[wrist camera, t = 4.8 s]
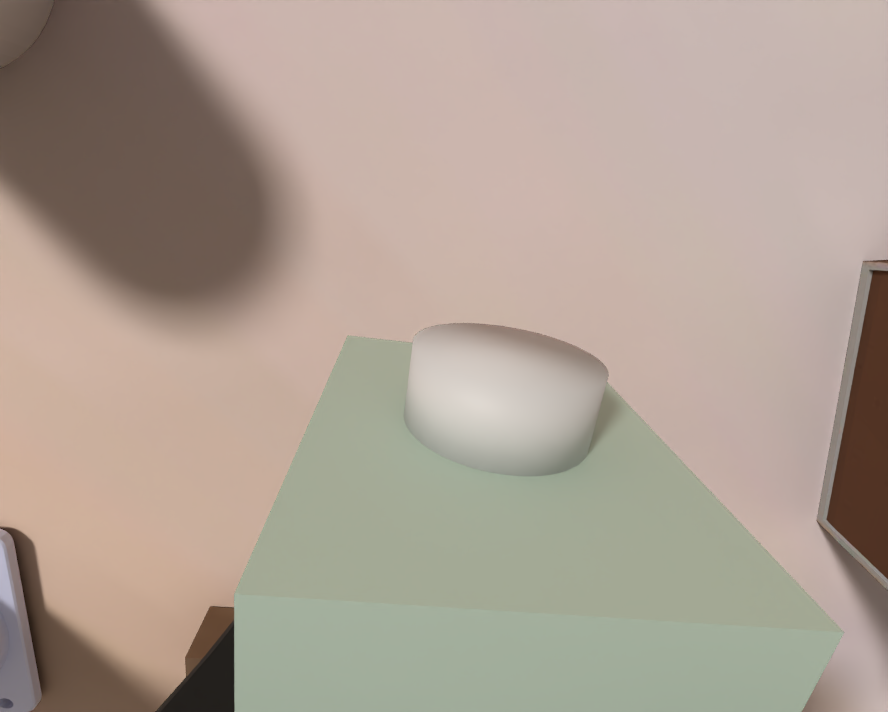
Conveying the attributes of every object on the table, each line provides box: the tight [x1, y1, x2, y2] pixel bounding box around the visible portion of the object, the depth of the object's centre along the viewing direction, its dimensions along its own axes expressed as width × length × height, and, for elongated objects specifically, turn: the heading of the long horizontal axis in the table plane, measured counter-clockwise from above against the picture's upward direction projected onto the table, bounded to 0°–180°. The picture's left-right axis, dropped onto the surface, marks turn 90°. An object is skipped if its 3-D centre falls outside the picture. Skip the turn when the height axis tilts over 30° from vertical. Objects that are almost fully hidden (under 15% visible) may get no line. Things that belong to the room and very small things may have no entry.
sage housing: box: [234, 323, 844, 712], centre depth 8 cm, size 5×10×6 cm, turn 172°
